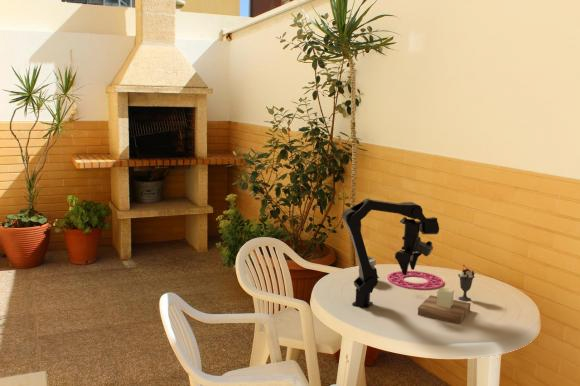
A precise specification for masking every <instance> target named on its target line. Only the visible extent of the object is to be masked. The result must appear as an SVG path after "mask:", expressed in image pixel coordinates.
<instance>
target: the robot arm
mask: <svg viewBox="0 0 580 386" xmlns="http://www.w3.org/2000/svg"><path fill="white" fill-rule="evenodd" d="M371 211H376V212H386V213H392V214H398V215H402V216H403V217H402V218H401V219H400V220H399V222H400V223H401V224H402V225H404V229H403V230H404V231H403V236H402V239H401V240H403V245H402V246H401V249H400V250H398V251H397V252H395V253H394V259H395V260H396V262H397V263H398V265H399V267H400V271H402V273H403V275H407V274H408V273H407V271H409V266H410V270H411V271H415V267H416V266H417V262H418V260H419V257H420V256H422V255H423V256H424V257H429V256H430V255H431V253H432V251H433V250H434V245H433V242H432V241H431V240H428V241H426V242H425V241H422V237H421V236H420V233H421V234H422V235H438V234H439V231H440V225H439V222H438V217H435V216H432V217H426V216H425V214H424V212H423V208H422V206H421V205H420V204H418V203H416V202H413V201H407V202H405V201H404V202H398V203H397V202H390V201H384V200H376V199H370V198H364V199H363V200H362V201H360V202H359V203H357V204H355V205H353V206H352V207H350V208H346V209H345V210H344V211H342V214H341V218H342V221H343V222H344V225H345V227H346V228H347V230H348V232H349V233H350V234H349V235H350V237H351V241H352V245H353V248H354V251H355V255H356V258H357V261H358V275H359V276H358V277H357V278H356V279H355V280H353V284H354V287H355V300H354V301H353V303H352V304H351V305H352V306H355V305H356V306H355V307H359V306H360V307H359V308H365V309H368V308H369V307H370V306H372V305H373V301H371V294H372V293H373V291H374V289H375V287H377V285H378V283H379V278H380V276H378V271H377V268H376V267H375V266H373V265H372V264H371V265H370V263H369V259H368V256H369V255H368V253H367V249H366V246H365V242H364V238H363V234H362V220H363V219H364V218H365V217H366V216H367V215H369V213H370V212H371Z"/></svg>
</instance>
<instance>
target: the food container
mask: <svg viewBox="0 0 580 386" xmlns="http://www.w3.org/2000/svg"><path fill="white" fill-rule="evenodd" d="M367 256H368V259H369V263H370V265H371V264H372V265H373V266H374V267H375V266H376V265H377V261H376V259H375V258H374V257H373V256H369V255H367Z"/></svg>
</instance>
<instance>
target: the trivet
mask: <svg viewBox="0 0 580 386" xmlns="http://www.w3.org/2000/svg"><path fill="white" fill-rule="evenodd" d="M420 273H421V274H422V275H421V274H420ZM393 274H395V275H393ZM396 274H397V275H396ZM401 274H402V275H401ZM424 274H426V275H424ZM410 277H416V278H420V279H424V280H427V281H426V282H422V283H421V282H418V283H417V282H416V283H415V282H411V281H410V282H409V281H408V280H404V278H410ZM386 279H387V282H389V283H390V284H391V285H394V286H396V287H400V288H404V289H408V290H418V291H429V290H436V289H440V288H441V287H442V288H443V286H444V283H445V281H444V280H443V278H441V277H440V276H438V275H435V274H433V273H428V272H424V271H417V270H408V271H407V275H403V273H402V270H399V271H393V272H391V273H389V274H388V275H387V278H386Z"/></svg>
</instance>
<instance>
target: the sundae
mask: <svg viewBox="0 0 580 386" xmlns="http://www.w3.org/2000/svg"><path fill="white" fill-rule="evenodd" d="M462 266H463V267H465V268H463V269H462V270H461V272H460V273H458V274H457V276H458V278H459V285H460V289H461V290H462V291H463V295H462V296H459V297H458V299H459V301H462V302H470V301H471V298H470V297H468V296H467V292H469V290H470V289H471V288H472V285H473V280H474V279H475V278H476V276H475V271H474V270H471V269H469V268H467V267H466V265H465V264H463V265H462Z"/></svg>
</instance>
